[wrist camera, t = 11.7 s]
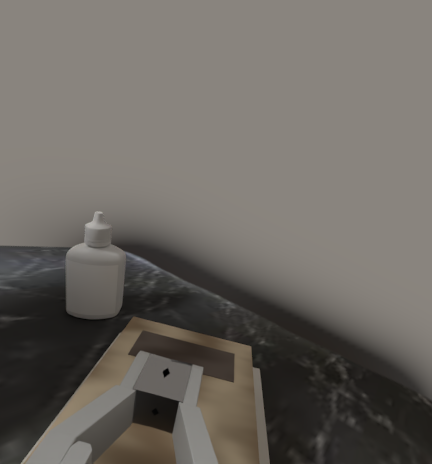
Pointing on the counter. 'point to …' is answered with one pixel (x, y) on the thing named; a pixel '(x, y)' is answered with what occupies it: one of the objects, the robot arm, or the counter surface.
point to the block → (209, 400)
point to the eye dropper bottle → (95, 274)
